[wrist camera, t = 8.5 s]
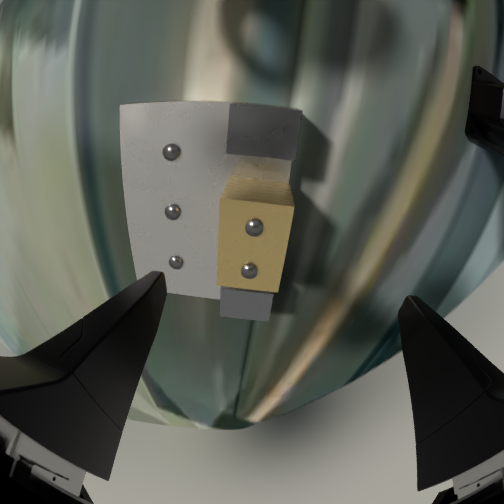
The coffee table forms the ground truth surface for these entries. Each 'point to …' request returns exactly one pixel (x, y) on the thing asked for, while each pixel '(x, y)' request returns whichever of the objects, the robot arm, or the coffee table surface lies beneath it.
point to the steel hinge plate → (198, 186)
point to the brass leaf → (253, 233)
